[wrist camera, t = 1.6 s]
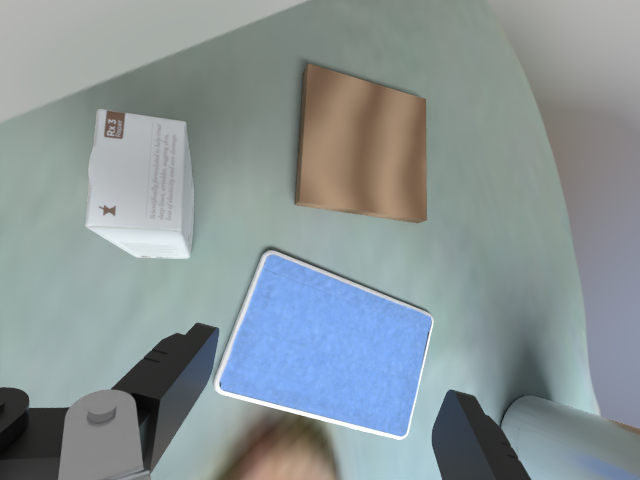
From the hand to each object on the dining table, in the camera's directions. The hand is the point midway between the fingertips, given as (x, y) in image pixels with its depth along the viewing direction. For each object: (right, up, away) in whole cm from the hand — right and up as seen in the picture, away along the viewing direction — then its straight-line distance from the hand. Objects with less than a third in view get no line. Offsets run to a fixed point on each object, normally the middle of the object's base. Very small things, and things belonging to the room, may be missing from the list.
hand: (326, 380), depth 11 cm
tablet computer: (+1, -5, +20) cm, 21 cm away
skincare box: (-13, +6, +16) cm, 22 cm away
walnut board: (+4, +14, +24) cm, 28 cm away
